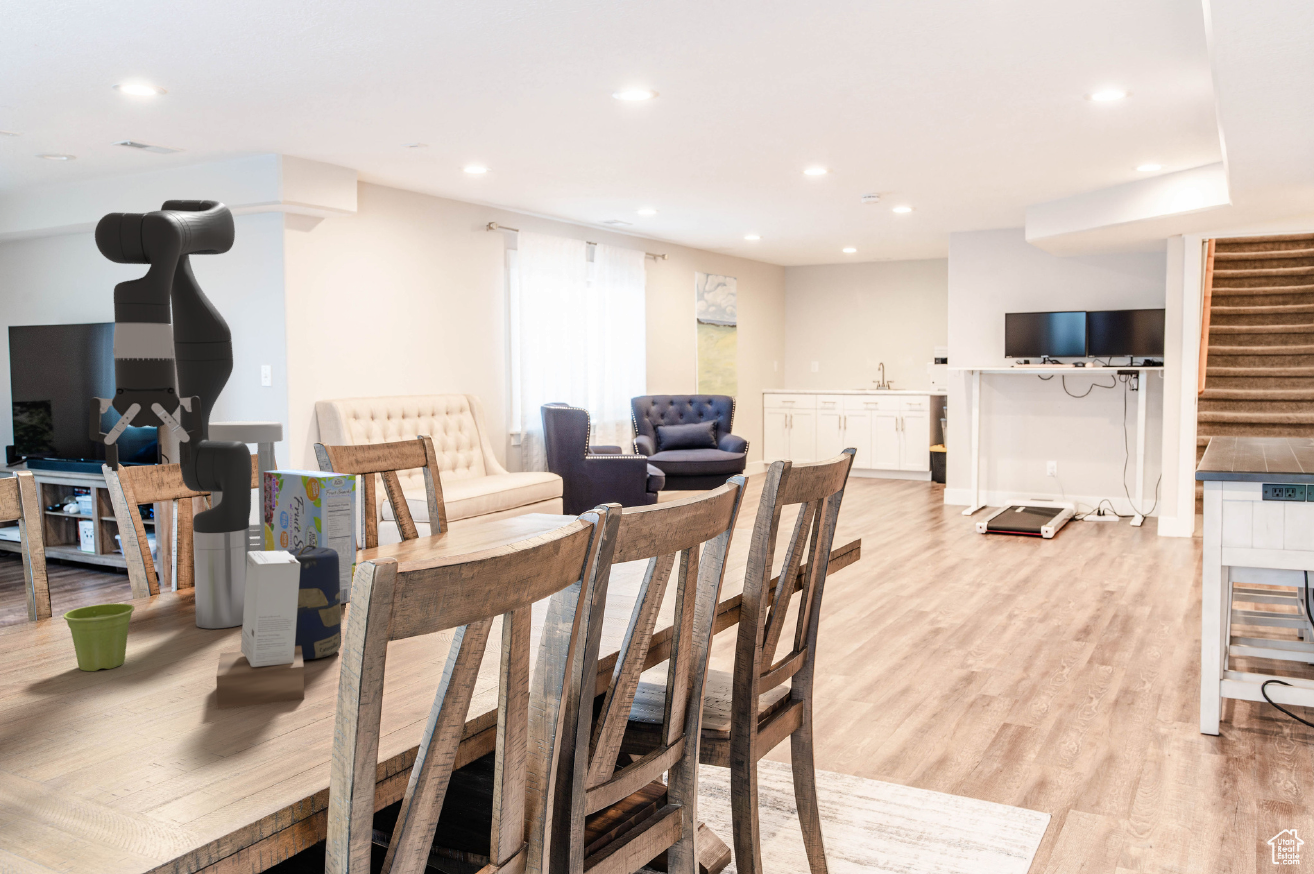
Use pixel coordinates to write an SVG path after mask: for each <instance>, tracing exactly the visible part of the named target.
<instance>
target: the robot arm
mask: <svg viewBox="0 0 1314 874" xmlns="http://www.w3.org/2000/svg"><path fill="white" fill-rule="evenodd" d="M234 221H235V220H234V217H233V214H232V212H231V210H230V209H229V207H228V206H227V205H226V204H224V203H223V202H221V201H218V200H217V201H216V200H212V199H211V200H208V199H204V200H203V199H169V200H166V201H164V202H163V204H162V205H161V209H160V210H153V211H149V212H142V213H141V212H140V213H139V212H138V213H137V212H136V213H135V212H110V213H107V214H105V215H104V216H103V217H102V218H101V219H100V220H99V221H98V223H97V225H96V227H95V230H94V240H95V244H96V247H97V249H98V250H99V252H100V253H101V254H102V255H103V257H104V258H105V259H107V260H108V261H110V262H113V263H115V264H124V265H127V264H128V265H150V266H149V269H148V271H147V272H146V274H145V275H143V276H142V277H139V278H136V279H131V280H126V281H121V282H118V283H117V284H115V285H114V288H113V304H114V305H113V307H114V313H113V314H114V323H115V324H114V331H113V332H114V333H113V348H112V353H113V356H114V357H113V358H114V360H113V362H114V363H113V364H114V379H115V382H114V383H115V386H114V387H115V394H114V396H113V398H100V397H98V396H97V397H95V396H94V397H92V398H91V399H90V400H89V417H88V419H89V420H88V421H89V422H88V439H89V440H91V441H93V442H94V441H95V442H98V443H101V444H103V445H104V450H105V465H106V467H107V468H111V472H118V471H119V467H120V466H119V447H118V446H119V445H118V443H116V441H117V439H118V438H119V437H120V436H121V434H122V433H123V432H124V431H125V430H126V428H127V427H128V426H131V427H133V428H137V429H138V428H139V429H140V428H145V427H151V428H160V427H162V426H165V425H166V426H167V427H168V428H169V430H170V431H172V432H173V433H174V435H175V436H176V437H177V438H178V439H179V443H178V450H179V469H180V473H181V478H182V481H183V483H184V485H185V487H186V488H187V489H188V490H190V491H192V492H201V493H203V492H208V493H209V492H210V493H211V492H222V499H221V502H220V503H219V504H218V505H217V506H215V507H214V508H212V509H211V508H209V509H206V510H203V511H201V512H198V513H196V514H195V515H194V516H193V520H192V529H193V531H192V533H193V561H194V562H193V563H194V564H193V565H194V567H193V568H194V592H195V593H194V595H195V602H194V603H195V625H196V627H198V628H203V629H225V628H232V627H237V626H243V612H244V598H245V584H246V570H247V552H249V551H250V545H251V544H250V538H251V537H250V533H249V531H250V530H249V524H250V516H251V510H252V479H253V464H252V463H253V462H252V454H251V451H250V449H249V446H247V444H245V443H243V442H240V441H209V436H208V426H209V423H210V416H211V413H212V410H213V407H214V405H215V404H216V401H217V400H218V398H219V396H220V395H221V394H222V392H223V389H224V388H225V386H226V385H227V383H228V381H229V379H230V377H231V374H232V373H233V368H234V354H233V352H234V351H233V341H232V333H231V329H230V327H229V324H228V323H227V321H226V320H225V318H224V317H223V316H222V314H221V313H220V311H219V310H218V309H217V308H216V306H214V304H213V303H212V301H210V299H209V298H208V296H207V295H206V293H205V292H204V291H203V289H202V288H201V286H200V285H199V282H198V281H197V279H196V277H195V274H194V271H193V268H192V265H191V261H190V255H192V256H193V255H196V256H198V255H199V256H200V255H202V256H203V255H204V256H205V255H206V256H208V255H210V256H212V255H213V256H215V255H221V254H222V255H223V254H225V253H227V252H229V251H230V250H231V249H232V248H233V245H234V243H235V233H236V231H235V222H234ZM176 374H177V375H176ZM176 376H177V385H178V394H179V395H178V394H177V389H176V387H177V386H176ZM110 406H111V407H112V408H113V409H114V410H115V411H116V412H117V413H118V414H119V415H120V416H121V418H120V419H119V420H118V421H117V423H116V424H115V425H114V426H113V428H112V429H111V430H110V431H109V433H105V432H102V414H105V413H107V412H108V408H109V407H110ZM178 408H179V414H180V415H179V419H180V421H179V422H180V423H179V422H178V420H177V419H176V417H174V416H173V415H174V413H175V412H176V411H177V409H178Z"/></svg>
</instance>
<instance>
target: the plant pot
mask: <svg viewBox="0 0 1314 874" xmlns="http://www.w3.org/2000/svg"><path fill="white" fill-rule="evenodd" d="M134 611H135V606H134V604H133V605H132V604H127V603H103V604H95V605H89V606H88V605H87V606H83V607H78V608H75V609H72V610H71V609H70V610H69V611H67V612H65V613H64V614H63V619H64V620H65V621H66V623H67V626H68V628H69V629H70V633H71V637H72V641H73V646H74V650H75V655H76V661H77V665H78V668H79V669H80V670H81V671H84V672H85V671H86V672H96V671H98V670H100V669H106V670H110V669H114V668H116V667H120V666H122V665H123V664H124V663H125V660H126V652H127V651H126V649H127V641H128V634H129V626H130V621H131V620H132V613H133V612H134Z"/></svg>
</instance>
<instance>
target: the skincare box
mask: <svg viewBox="0 0 1314 874" xmlns="http://www.w3.org/2000/svg"><path fill="white" fill-rule="evenodd" d="M300 564H301V563H300V562H298V561H297V560H296V559H295V556H294V555H291V554H290V553H289V552H288V551H249V552H247V570H246V584H245V598H244V612H243V624H242V630H241V643H240V652H242V653H243V654H244V655H245V656H246V658H247V659H248V661H249V663H250V665H251V667H259V666H269V665H280V664H289V663H294V651H295V637H296V622H297V607H298V593H299V579H300Z"/></svg>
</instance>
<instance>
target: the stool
mask: <svg viewBox="0 0 1314 874" xmlns="http://www.w3.org/2000/svg"><path fill="white" fill-rule="evenodd" d="M283 431H284V430H283V423H282V422H280V421H271V420H270V421H269V420H241V421H239V420H237V421H236V420H235V421H234V420H233V421H231V420H230V421H213V422H209V426H208V436H209V441H240V442H243V443H245V444H246V445H247V444H250V445H251V444H257V473H258V476H257V477H258V480H257V481H258V509H259V510H258V511H259V515H258V516H259V523H252V524H251V523H249V533H250V551H265V512H264V471H274V470H276V462H275V461H276V460H275V459H276V458H275V456H276V455H275V454H276V451H275V443H276V442H277V443H278V442H282V441H283V440H284V439H283V438H284V435H283ZM221 499H222V492H210V509H212V508H214V507H215V506H217V505H218V504H219V503H220V502H221Z"/></svg>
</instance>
